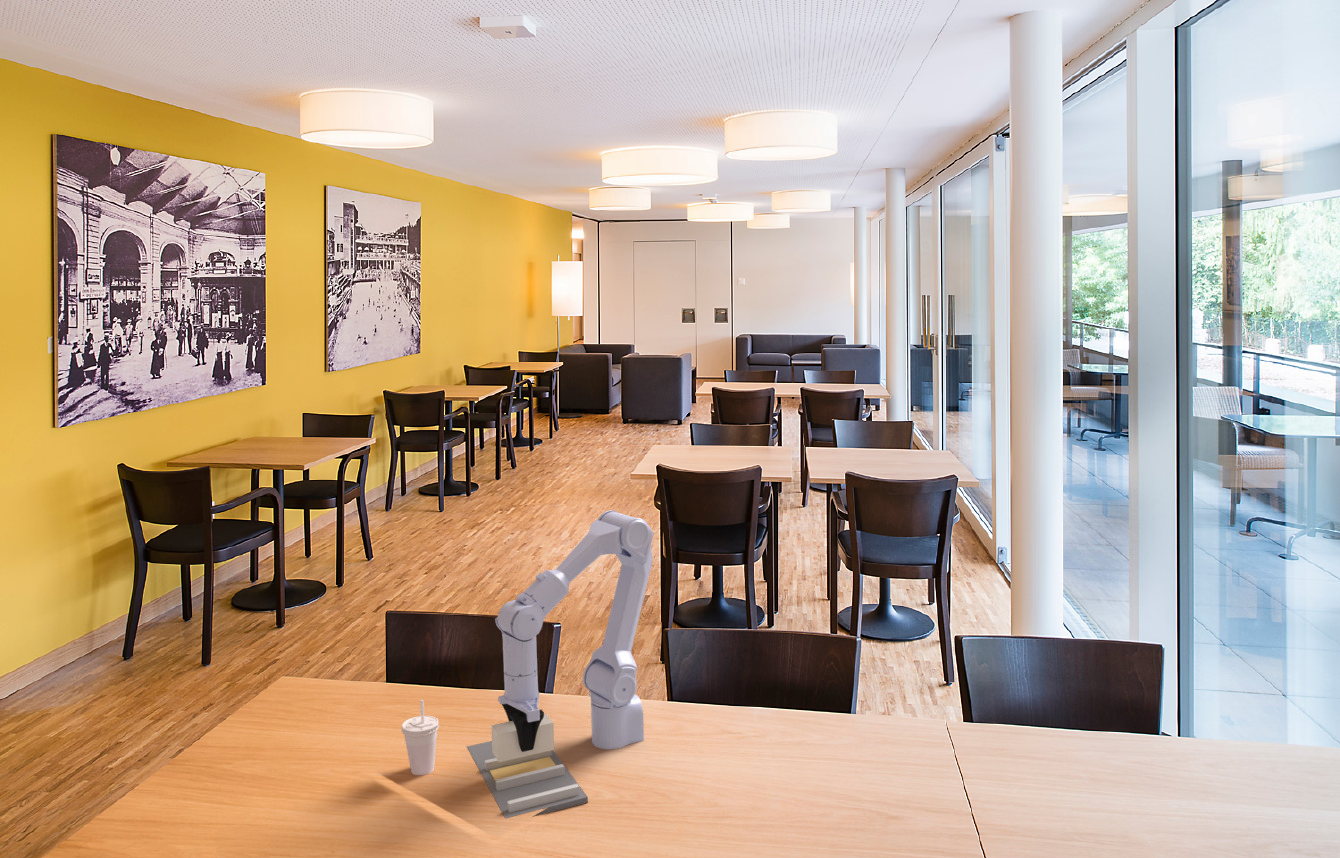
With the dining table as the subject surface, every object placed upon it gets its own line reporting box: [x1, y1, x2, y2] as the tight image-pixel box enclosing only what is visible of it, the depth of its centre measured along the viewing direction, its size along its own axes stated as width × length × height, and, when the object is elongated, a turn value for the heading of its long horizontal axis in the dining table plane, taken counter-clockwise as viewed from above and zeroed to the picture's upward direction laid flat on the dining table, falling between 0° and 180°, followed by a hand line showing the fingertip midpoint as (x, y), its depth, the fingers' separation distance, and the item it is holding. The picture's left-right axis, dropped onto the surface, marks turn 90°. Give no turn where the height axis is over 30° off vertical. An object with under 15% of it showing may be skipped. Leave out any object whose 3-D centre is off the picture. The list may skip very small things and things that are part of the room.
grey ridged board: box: [466, 740, 589, 819], centre depth 161 cm, size 14×27×2 cm, turn 25°
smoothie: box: [401, 699, 440, 776], centre depth 161 cm, size 6×6×14 cm
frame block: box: [491, 713, 555, 762], centre depth 159 cm, size 10×4×5 cm, turn 115°
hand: (523, 744), depth 160 cm, fingers closed on frame block, 4 cm apart
